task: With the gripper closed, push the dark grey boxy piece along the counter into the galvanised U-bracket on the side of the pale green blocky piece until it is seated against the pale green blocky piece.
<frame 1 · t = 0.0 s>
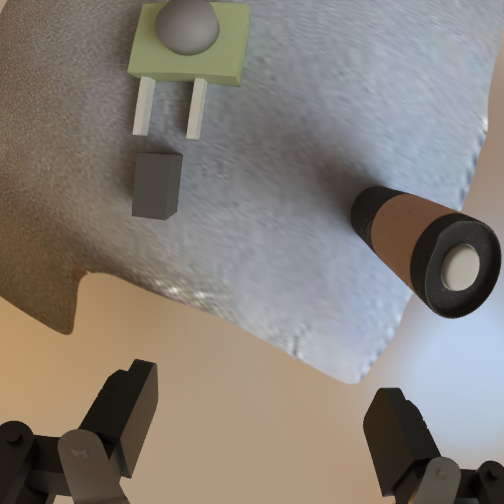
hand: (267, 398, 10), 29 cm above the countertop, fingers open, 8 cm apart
pale green blocky piece: (195, 48, 32), on the countertop
dark grey boxy piece: (164, 181, 37), on the countertop
travel mug: (376, 214, 38), on the countertop
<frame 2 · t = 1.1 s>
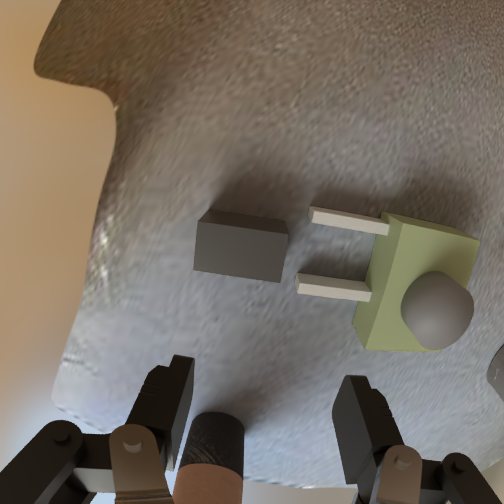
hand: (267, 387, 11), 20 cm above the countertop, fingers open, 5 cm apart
pale green blocky piece: (405, 275, 30), on the countertop
dark grey boxy piece: (243, 236, 30), on the countertop
travel mug: (217, 427, 38), on the countertop
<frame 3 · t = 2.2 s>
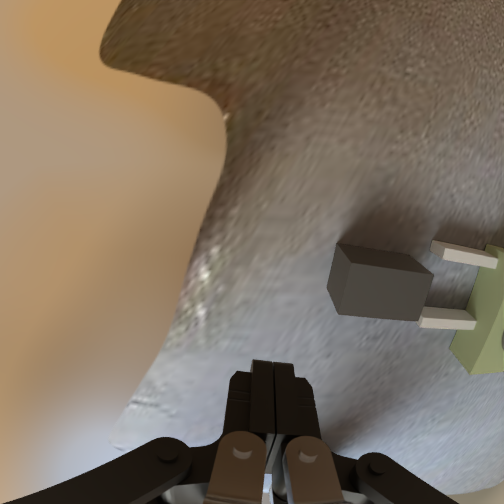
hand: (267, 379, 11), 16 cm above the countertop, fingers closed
pale green blocky piece: (495, 301, 27), on the countertop
dark grey boxy piece: (368, 270, 26), on the countertop
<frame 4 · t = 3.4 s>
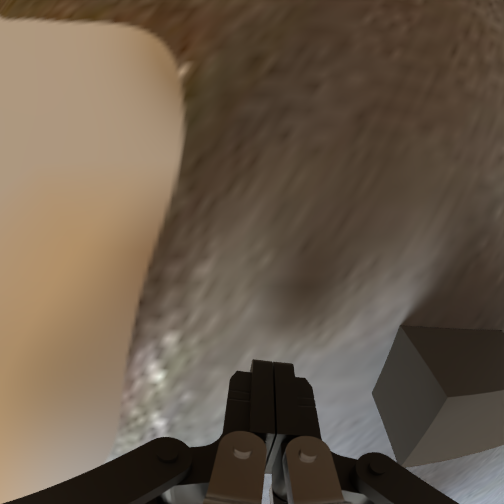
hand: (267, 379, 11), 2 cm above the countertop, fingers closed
dark grey boxy piece: (441, 361, 13), on the countertop
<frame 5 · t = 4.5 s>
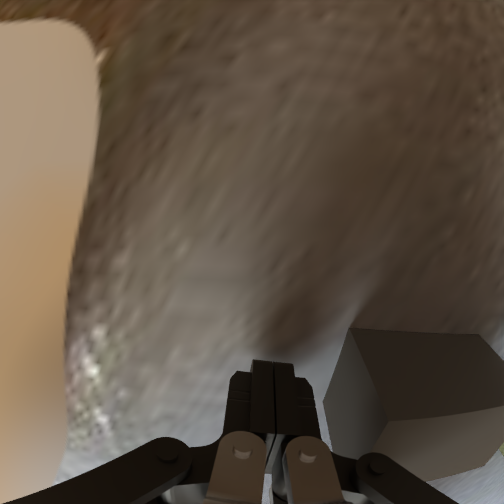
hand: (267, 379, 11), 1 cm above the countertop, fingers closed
dark grey boxy piece: (406, 369, 12), on the countertop, touching gripper
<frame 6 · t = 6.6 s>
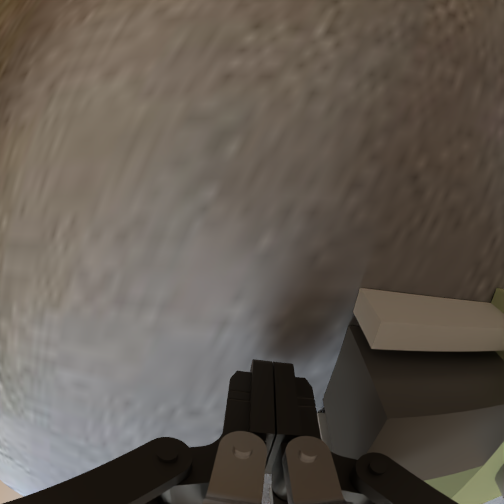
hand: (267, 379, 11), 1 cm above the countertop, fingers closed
pale green blocky piece: (500, 386, 13), on the countertop
dark grey boxy piece: (406, 368, 12), resting in pale green blocky piece, touching gripper
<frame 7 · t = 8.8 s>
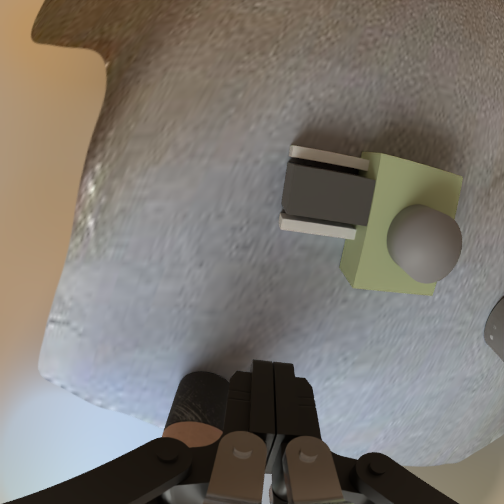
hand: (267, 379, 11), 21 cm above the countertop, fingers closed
pale green blocky piece: (390, 218, 30), on the countertop
dark grey boxy piece: (320, 188, 30), resting in pale green blocky piece
travel mug: (205, 390, 38), on the countertop
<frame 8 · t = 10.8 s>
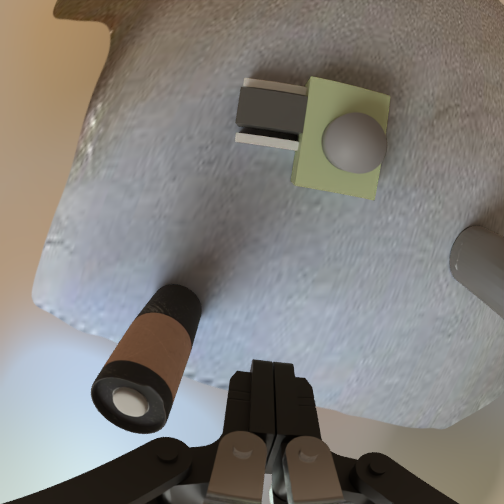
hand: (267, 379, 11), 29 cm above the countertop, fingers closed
pale green blocky piece: (334, 139, 36), on the countertop
dark grey boxy piece: (270, 114, 35), resting in pale green blocky piece
travel mug: (177, 306, 43), on the countertop
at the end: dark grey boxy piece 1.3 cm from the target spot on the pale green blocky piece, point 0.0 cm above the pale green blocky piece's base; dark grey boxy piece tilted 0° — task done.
